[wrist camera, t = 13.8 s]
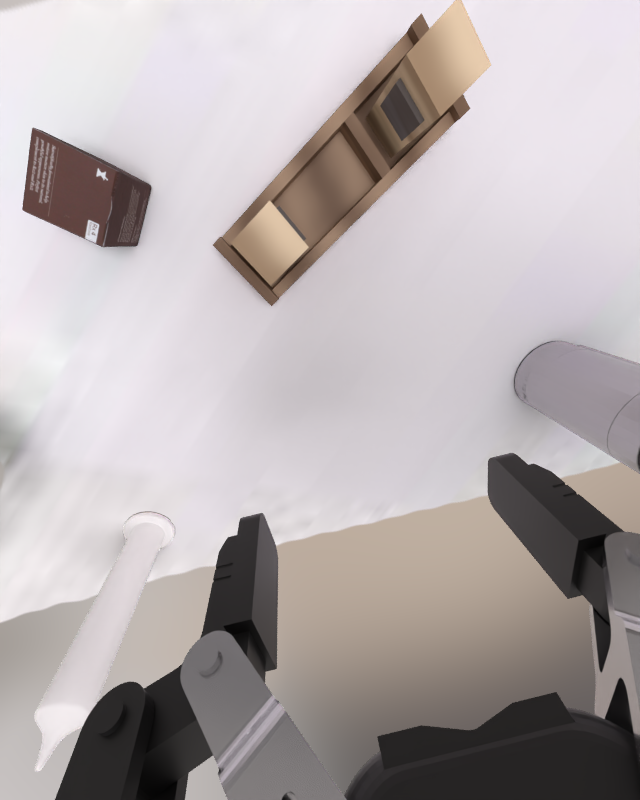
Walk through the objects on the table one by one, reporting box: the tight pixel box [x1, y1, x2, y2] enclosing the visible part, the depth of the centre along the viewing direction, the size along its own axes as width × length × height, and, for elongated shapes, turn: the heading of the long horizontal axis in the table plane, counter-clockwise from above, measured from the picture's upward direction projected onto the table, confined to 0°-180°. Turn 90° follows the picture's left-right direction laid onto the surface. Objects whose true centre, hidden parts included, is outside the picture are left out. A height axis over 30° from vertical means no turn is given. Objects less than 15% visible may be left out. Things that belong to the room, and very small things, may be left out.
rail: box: [213, 13, 470, 306], centre depth 28 cm, size 24×8×12 cm, turn 132°
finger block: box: [366, 0, 491, 158], centre depth 26 cm, size 4×4×11 cm
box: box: [23, 128, 151, 247], centre depth 29 cm, size 6×6×7 cm
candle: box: [34, 512, 175, 772], centre depth 37 cm, size 7×7×25 cm
